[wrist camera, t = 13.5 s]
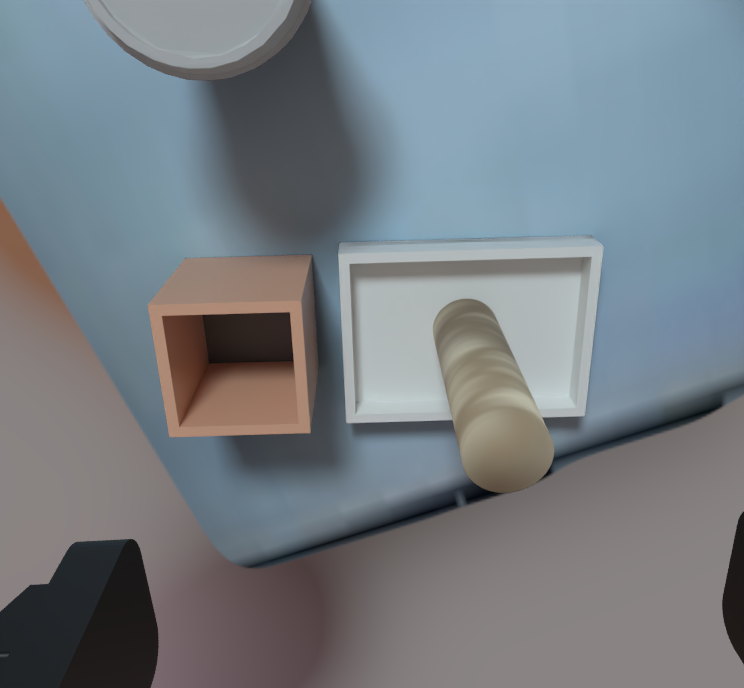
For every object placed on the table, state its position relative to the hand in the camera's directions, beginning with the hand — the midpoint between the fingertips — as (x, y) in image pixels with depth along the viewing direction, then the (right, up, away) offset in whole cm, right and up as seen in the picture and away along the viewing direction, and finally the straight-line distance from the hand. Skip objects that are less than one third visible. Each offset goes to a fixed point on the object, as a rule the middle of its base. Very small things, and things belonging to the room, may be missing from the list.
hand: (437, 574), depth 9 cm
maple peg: (+5, +4, +34) cm, 34 cm away
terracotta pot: (-8, +5, +34) cm, 35 cm away
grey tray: (+5, +4, +34) cm, 35 cm away
